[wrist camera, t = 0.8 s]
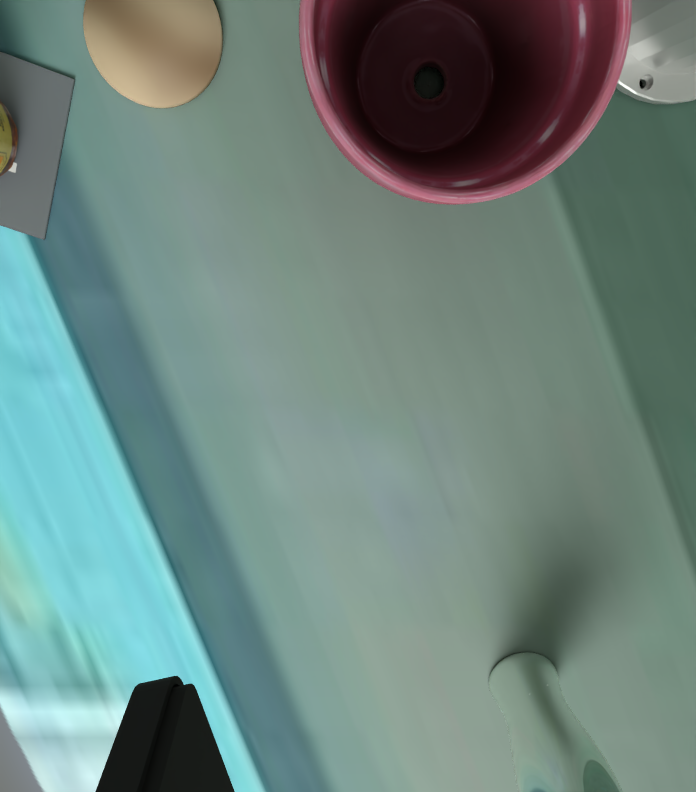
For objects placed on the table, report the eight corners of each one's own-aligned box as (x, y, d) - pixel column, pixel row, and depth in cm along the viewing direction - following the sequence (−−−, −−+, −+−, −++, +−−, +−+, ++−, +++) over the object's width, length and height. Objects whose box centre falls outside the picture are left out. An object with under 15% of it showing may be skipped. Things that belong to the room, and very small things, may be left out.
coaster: (102, -68, 34) (99, -73, 33) (238, -12, 35) (237, -15, 34) (74, 79, 36) (70, 77, 36) (203, 127, 37) (201, 126, 37)
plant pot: (280, 161, 38) (260, 146, 26) (344, -90, 34) (356, -247, 22) (485, 229, 40) (556, 244, 28) (569, -1, 36) (696, -101, 24)
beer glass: (572, 690, 53) (663, 870, 39) (501, 720, 54) (565, 907, 40) (543, 635, 51) (629, 804, 37) (470, 667, 52) (526, 844, 38)
